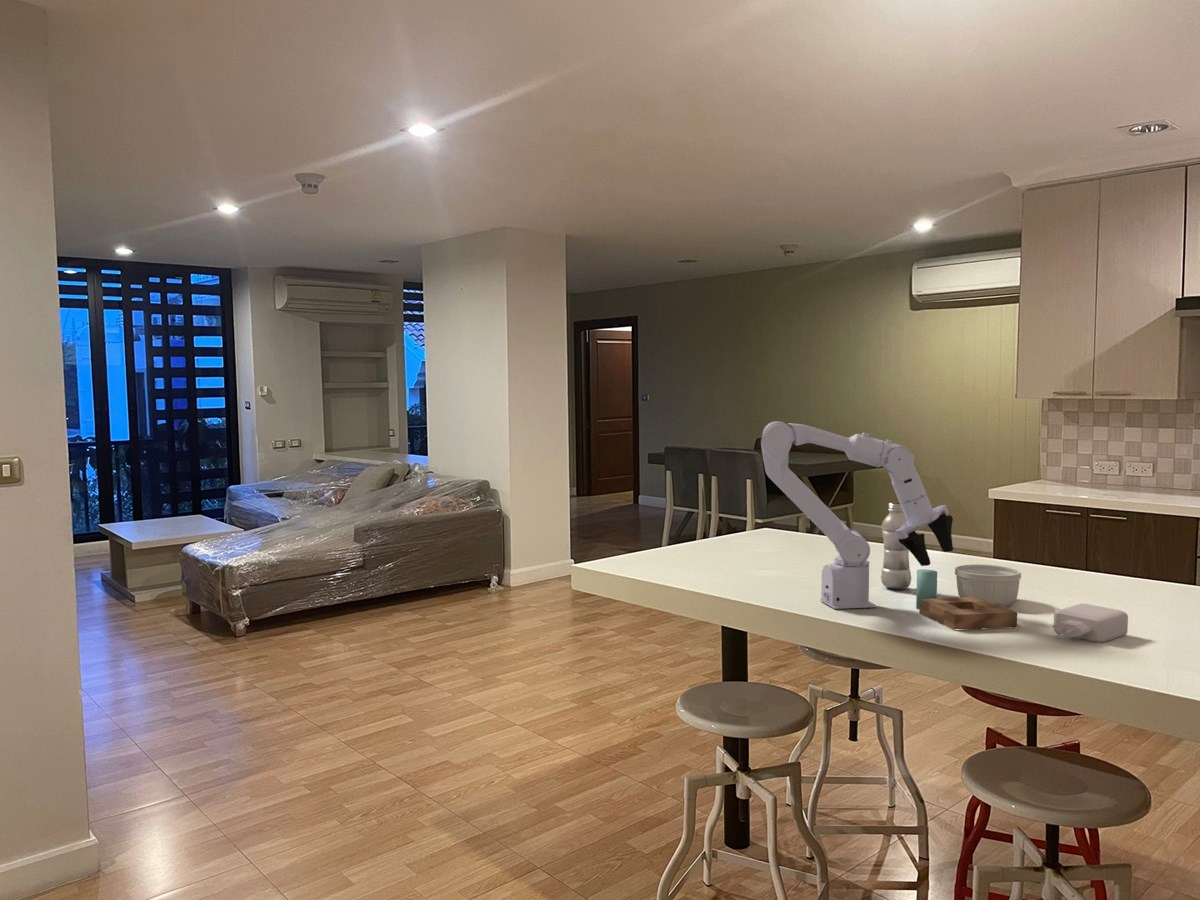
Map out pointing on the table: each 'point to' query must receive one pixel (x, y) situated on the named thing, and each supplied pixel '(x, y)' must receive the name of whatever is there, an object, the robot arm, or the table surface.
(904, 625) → the table surface
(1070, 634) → the charger
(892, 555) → the plastic bottle
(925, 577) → the peg
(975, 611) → the socket
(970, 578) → the ramekin
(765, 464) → the robot arm
